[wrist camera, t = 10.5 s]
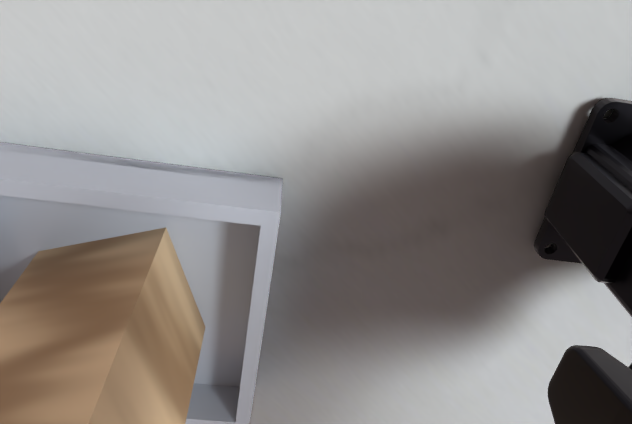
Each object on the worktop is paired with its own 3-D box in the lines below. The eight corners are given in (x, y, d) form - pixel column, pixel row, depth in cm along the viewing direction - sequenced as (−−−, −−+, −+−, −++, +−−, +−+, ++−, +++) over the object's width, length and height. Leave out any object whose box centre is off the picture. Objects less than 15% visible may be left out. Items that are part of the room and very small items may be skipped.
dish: (282, 178, 20) (281, 212, 17) (252, 387, 25) (248, 433, 23) (-35, 137, 18) (-78, 169, 16) (5, 366, 24) (-24, 412, 22)
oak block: (166, 227, 20) (48, 526, 10) (205, 327, 22) (139, 642, 13) (38, 251, 20) (-191, 562, 11) (91, 346, 23) (-56, 668, 13)
